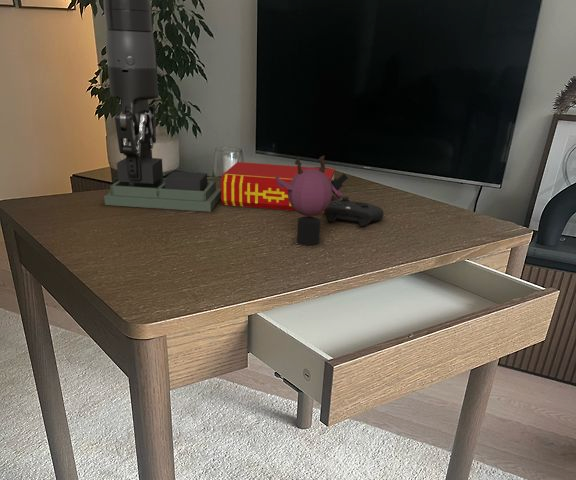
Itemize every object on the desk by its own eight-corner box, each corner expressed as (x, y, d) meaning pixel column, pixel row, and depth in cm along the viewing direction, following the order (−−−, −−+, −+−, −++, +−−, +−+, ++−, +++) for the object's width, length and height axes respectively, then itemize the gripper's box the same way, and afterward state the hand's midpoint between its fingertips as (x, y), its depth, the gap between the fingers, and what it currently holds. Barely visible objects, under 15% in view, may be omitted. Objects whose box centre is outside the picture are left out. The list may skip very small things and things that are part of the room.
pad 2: (165, 196, 101) (164, 178, 100) (174, 188, 106) (173, 171, 105) (200, 199, 101) (199, 180, 99) (207, 190, 106) (207, 173, 104)
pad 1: (118, 181, 100) (116, 162, 99) (129, 174, 106) (128, 156, 104) (153, 184, 100) (152, 165, 99) (163, 176, 105) (162, 158, 104)
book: (221, 205, 103) (220, 175, 101) (237, 189, 114) (237, 162, 111) (326, 214, 101) (328, 184, 99) (332, 196, 112) (334, 169, 110)
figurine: (343, 239, 89) (350, 154, 83) (323, 254, 83) (330, 164, 77) (294, 231, 92) (298, 148, 86) (271, 244, 86) (273, 156, 80)
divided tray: (104, 205, 101) (102, 186, 99) (124, 191, 109) (122, 174, 108) (210, 211, 100) (210, 193, 98) (221, 197, 108) (221, 180, 107)
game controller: (385, 213, 99) (382, 192, 94) (377, 242, 98) (373, 222, 93) (330, 206, 102) (324, 185, 97) (321, 233, 101) (315, 214, 96)
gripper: (123, 61, 100) (132, 166, 109) (92, 65, 88) (104, 183, 97) (167, 63, 100) (173, 168, 109) (142, 68, 88) (150, 186, 96)
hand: (140, 175), depth 103 cm, fingers closed on pad 1, 6 cm apart
